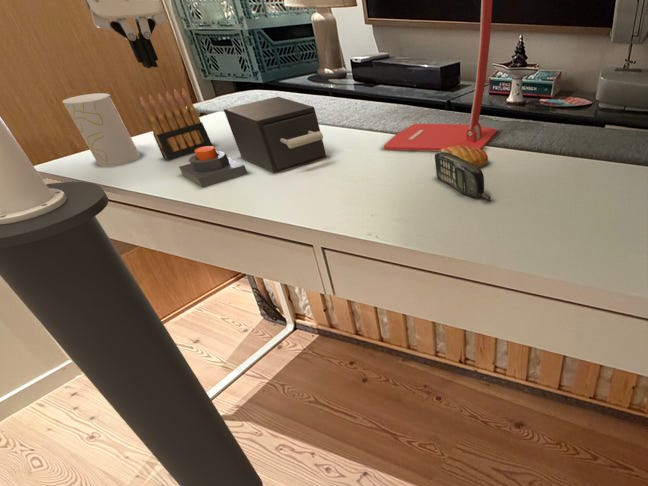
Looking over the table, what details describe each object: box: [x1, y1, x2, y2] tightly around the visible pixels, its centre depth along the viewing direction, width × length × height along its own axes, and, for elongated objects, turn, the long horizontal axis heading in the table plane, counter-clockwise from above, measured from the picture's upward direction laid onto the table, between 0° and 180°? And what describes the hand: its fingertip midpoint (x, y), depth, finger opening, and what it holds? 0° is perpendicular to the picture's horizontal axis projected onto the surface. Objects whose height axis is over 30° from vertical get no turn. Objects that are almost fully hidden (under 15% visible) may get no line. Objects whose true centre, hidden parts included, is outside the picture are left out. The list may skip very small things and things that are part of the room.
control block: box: [178, 150, 248, 188], centre depth 91 cm, size 9×10×4 cm
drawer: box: [262, 112, 327, 169], centre depth 93 cm, size 18×11×8 cm, turn 46°
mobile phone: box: [434, 151, 492, 201], centre depth 80 cm, size 5×3×15 cm
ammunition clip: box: [140, 87, 213, 161], centre depth 99 cm, size 11×2×12 cm, turn 146°
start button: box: [194, 145, 218, 160], centre depth 89 cm, size 4×4×2 cm
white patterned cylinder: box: [61, 92, 141, 167], centre depth 97 cm, size 8×8×12 cm
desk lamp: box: [383, 0, 498, 152], centre depth 91 cm, size 18×38×40 cm, turn 73°
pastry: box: [440, 145, 489, 168], centre depth 89 cm, size 9×7×4 cm
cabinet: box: [223, 96, 327, 174], centre depth 95 cm, size 15×12×10 cm
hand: (150, 66), depth 81 cm, fingers closed
